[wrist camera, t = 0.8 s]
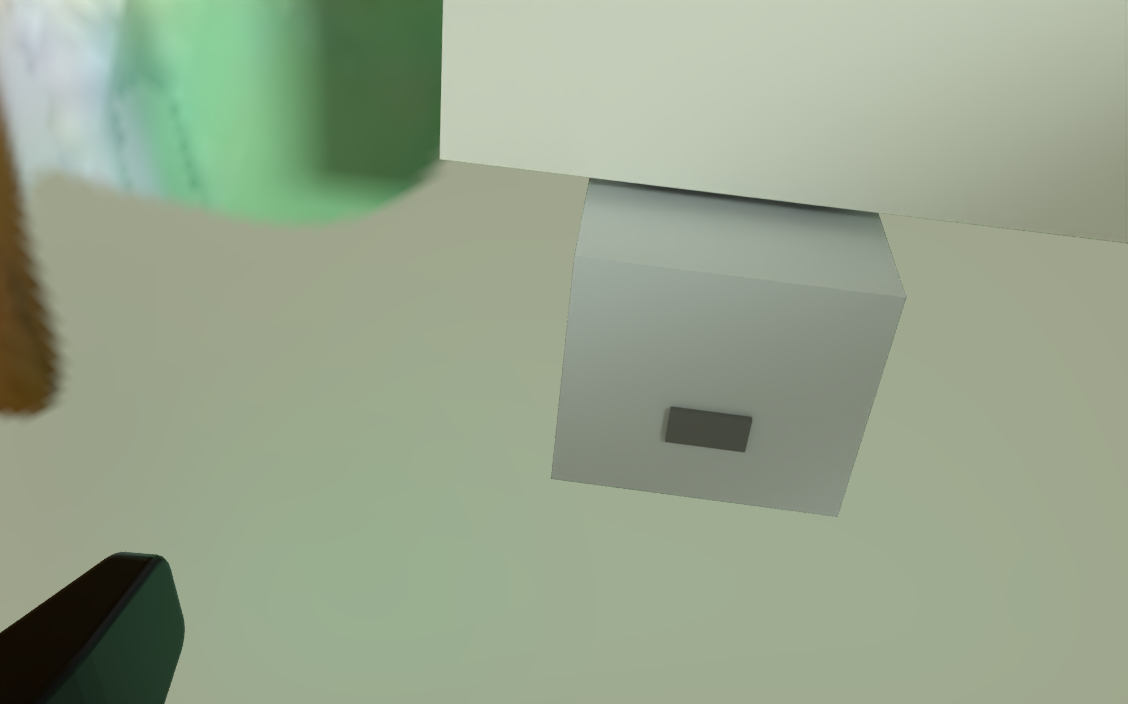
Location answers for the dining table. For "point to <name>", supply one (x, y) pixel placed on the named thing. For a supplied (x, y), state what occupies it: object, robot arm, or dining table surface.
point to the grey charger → (723, 345)
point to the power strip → (808, 102)
